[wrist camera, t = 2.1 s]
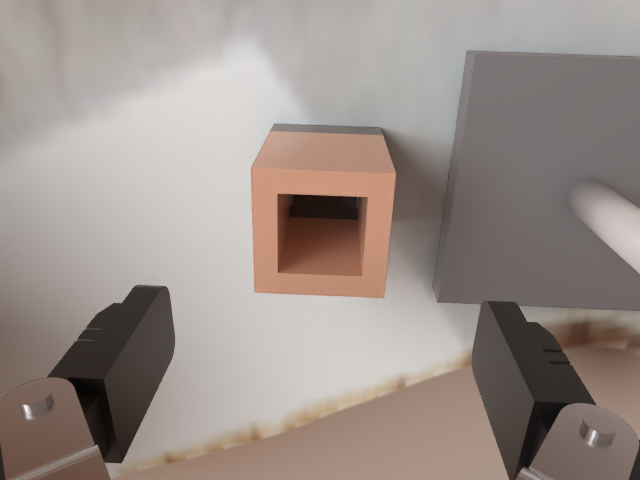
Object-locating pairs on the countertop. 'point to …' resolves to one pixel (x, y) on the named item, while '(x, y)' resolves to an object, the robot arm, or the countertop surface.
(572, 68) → the pin board
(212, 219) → the countertop surface
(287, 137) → the sleeve
